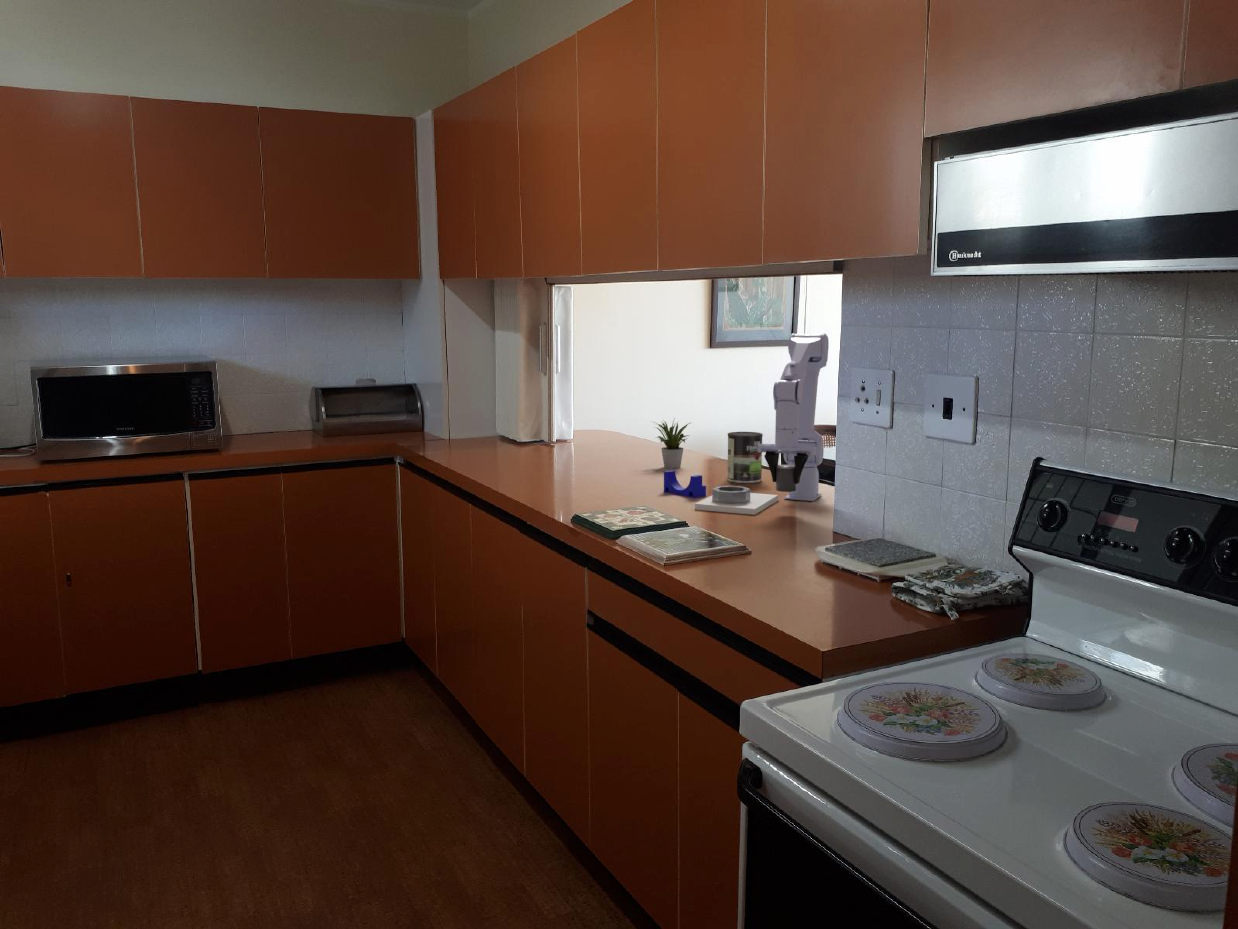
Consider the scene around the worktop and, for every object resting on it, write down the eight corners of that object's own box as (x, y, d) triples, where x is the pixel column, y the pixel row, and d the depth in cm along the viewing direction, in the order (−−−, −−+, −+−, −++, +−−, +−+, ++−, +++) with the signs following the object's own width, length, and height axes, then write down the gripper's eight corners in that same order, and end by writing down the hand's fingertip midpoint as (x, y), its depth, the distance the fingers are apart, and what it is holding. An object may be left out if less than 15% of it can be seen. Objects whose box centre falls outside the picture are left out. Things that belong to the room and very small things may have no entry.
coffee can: (769, 480, 295) (770, 433, 292) (745, 484, 288) (745, 436, 286) (743, 476, 302) (744, 430, 300) (719, 480, 296) (720, 433, 294)
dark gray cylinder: (778, 487, 252) (779, 464, 251) (798, 489, 250) (798, 465, 249) (773, 490, 247) (773, 467, 246) (792, 492, 245) (793, 468, 244)
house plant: (640, 469, 315) (640, 418, 313) (652, 463, 328) (652, 414, 326) (684, 471, 311) (684, 420, 308) (694, 465, 324) (695, 415, 321)
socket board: (721, 496, 271) (721, 479, 271) (778, 500, 264) (778, 484, 264) (694, 509, 253) (694, 492, 253) (754, 514, 247) (755, 497, 246)
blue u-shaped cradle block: (705, 496, 272) (706, 474, 271) (694, 498, 269) (694, 476, 268) (675, 490, 281) (675, 469, 280) (663, 492, 278) (663, 471, 277)
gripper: (754, 428, 246) (753, 482, 248) (811, 431, 239) (810, 487, 242) (762, 425, 252) (761, 478, 254) (819, 428, 246) (817, 482, 248)
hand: (785, 482), depth 248 cm, fingers closed on dark gray cylinder, 5 cm apart
